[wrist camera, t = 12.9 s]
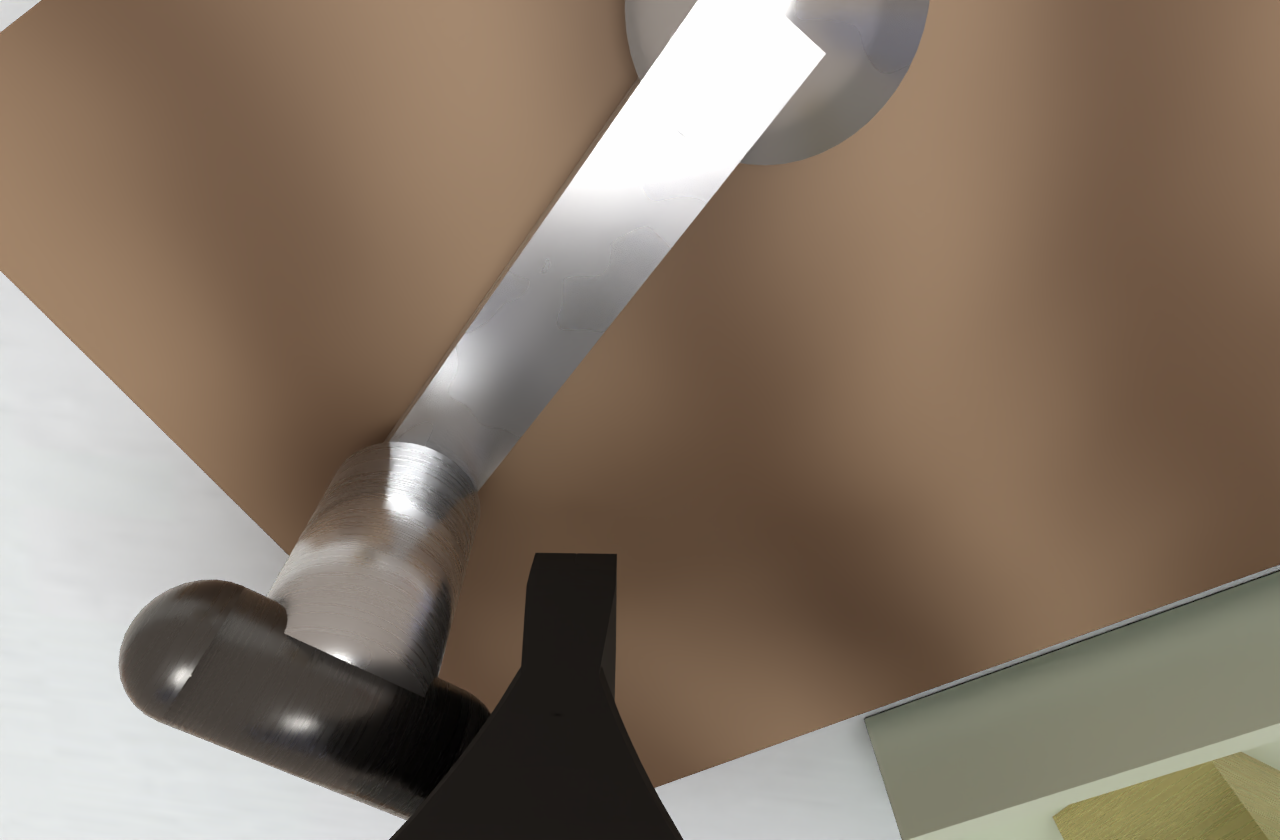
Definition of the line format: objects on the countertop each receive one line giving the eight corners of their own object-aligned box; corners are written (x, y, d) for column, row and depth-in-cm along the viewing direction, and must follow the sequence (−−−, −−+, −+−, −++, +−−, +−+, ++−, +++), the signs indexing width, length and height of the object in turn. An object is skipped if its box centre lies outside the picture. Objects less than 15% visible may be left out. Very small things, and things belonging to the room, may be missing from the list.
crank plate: (1288, -928, 7) (1389, -1064, 6) (1392, 476, 15) (1442, 511, 14) (-78, 124, 12) (-140, 139, 11) (561, 784, 20) (558, 826, 19)
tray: (1422, 520, 16) (1578, 629, 13) (1438, 828, 21) (1550, 948, 19) (864, 719, 19) (902, 841, 16) (1002, 946, 24) (1048, 1065, 21)
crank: (719, -289, 9) (839, -615, 4) (996, 1, 10) (1343, 40, 5) (261, 456, 13) (53, 741, 8) (494, 579, 15) (430, 881, 10)
